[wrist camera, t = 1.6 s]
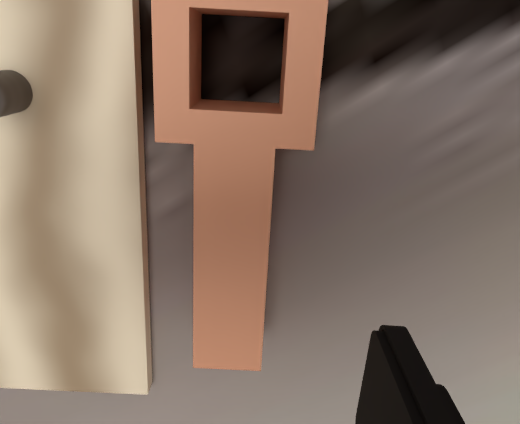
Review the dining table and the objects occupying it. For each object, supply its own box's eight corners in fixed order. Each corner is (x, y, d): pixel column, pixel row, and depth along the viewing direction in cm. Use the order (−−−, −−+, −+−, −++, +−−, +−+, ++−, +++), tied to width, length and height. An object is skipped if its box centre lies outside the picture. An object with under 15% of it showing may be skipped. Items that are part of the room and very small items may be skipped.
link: (170, -23, 21) (150, -38, 17) (318, -15, 21) (330, -27, 18) (174, 322, 28) (160, 366, 24) (288, 328, 28) (292, 372, 24)
